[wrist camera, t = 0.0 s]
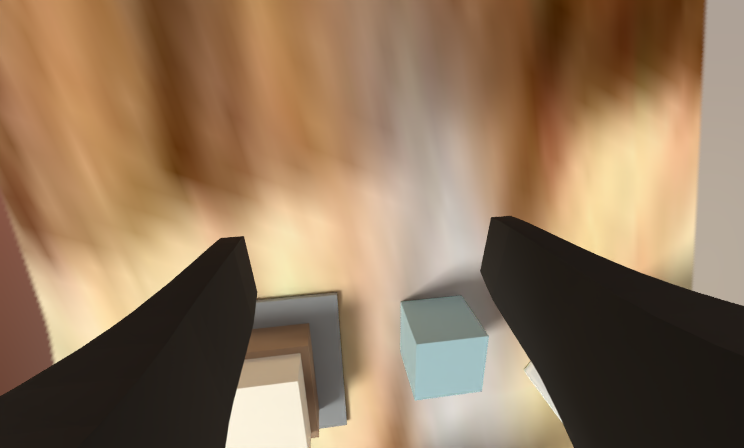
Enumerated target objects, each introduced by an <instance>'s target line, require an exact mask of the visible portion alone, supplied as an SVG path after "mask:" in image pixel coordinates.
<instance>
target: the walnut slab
mask: <svg viewBox="0 0 744 448" xmlns="http://www.w3.org/2000/svg"><path fill="white" fill-rule="evenodd" d="M297 353H300V354H301V361H302V369H303V376H304V384H305V392H306V399H307V407H308V414H309V422H310V429H311V438H315V437H319V403H318V395H317V386H316V377H315V369H314V360H313V352H312V343H311V334H310V326H309V323H305V324H296V325H287V326H277V327H268V328H258V329H252V333H251V337H250V340H249V344H248V348H247V352H246V356H245V359H254V358H263V357H271V356H280V355H288V354H297Z"/></svg>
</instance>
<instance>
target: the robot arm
mask: <svg viewBox="0 0 744 448" xmlns="http://www.w3.org/2000/svg"><path fill="white" fill-rule="evenodd" d="M480 272H481V274H482V277H483V279H484V281H485V284H486V286H487V288H488V290H489V293H490V295H491V297H492V299H493V301H494V302H495V304H496V306H497V307H498V309H499V311H500V312H501V314H502V316H503V317H504V319H505V321H506V322H507V324H508V325H509V327H510V328H511V330H512V332H513V333H514V335H515V336H516V338H517V340H518V341H519V343H520V344H521V346H522V348H523V349H524V351H525V352H526V354H527V356H528V357H529V359H530V360H531V362H532V364H533V365H534V367H535V369H536V371H537V372H538V374H539V376H540V378H541V380H542V382H543V384H544V386H545V388H546V390H547V392H548V394H549V396H550V398H551V400H552V402H553V404H554V406H555V408H556V410H557V412H558V414H559V416H560V418H561V420H562V423H563V425H564V427H565V429H566V431H567V433H568V436H569V438H570V440H571V442H572V444H573V447H574V448H744V306H742V305H738V304H735V303H731V302H728V301H724V300H721V299H718V298H714V297H711V296H708V295H704V294H701V293H698V292H695V291H691V290H688V289H685V288H682V287H679V286H676V285H673V284H670V283H668V282H665V281H662V280H659V279H656V278H654V277H651V276H648V275H645V274H642V273H640V272H637V271H635V270H632V269H630V268H627V267H625V266H622V265H620V264H617V263H615V262H613V261H610V260H608V259H606V258H603V257H601V256H599V255H596V254H594V253H592V252H590V251H587V250H585V249H583V248H581V247H579V246H576V245H574V244H572V243H570V242H568V241H566V240H564V239H562V238H559V237H557V236H555V235H553V234H551V233H549V232H547V231H545V230H543V229H541V228H538V227H536V226H534V225H532V224H530V223H527V222H525V221H523V220H520V219H518V218H515V217H512V216H503V217H491V221H490V226H489V231H488V236H487V240H486V245H485V250H484V255H483V260H482V265H481V270H480ZM256 300H257V289H256V285H255V281H254V277H253V272H252V268H251V264H250V260H249V256H248V252H247V247H246V243H245V239H244V236H241V237H228V238H220V239H219V240H218V241H217V242H215V243H214V244H213V245H212V246H211V247H209V248H208V249H207V250H206V251H205V252H204V253H203V254H201V255H200V256H199V257H198V258H197V259H196V260H195V261H194V262H193V263H191V264H190V265H189V266H188V267H187V268H186V269H184V270H183V271H182V272H181V273H180V274H179V275H178V276H176V277H175V278H174V279H173V280H172V281H171V282H169V283H168V284H167V285H166V286H165V287H163V288H162V289H161V290H160V291H158V292H157V293H156V294H154V295H153V296H152V297H151V298H149V299H148V300H147V301H146V302H144V303H143V304H142V305H141V306H139V307H138V308H137V309H136V310H134V311H133V312H132V313H130V314H129V315H128V316H126V317H125V318H124V319H122V320H121V321H119V322H118V323H117V324H115V325H114V326H113V327H111V328H110V329H108V330H107V331H105V332H104V333H102V334H101V335H99V336H98V337H96V338H95V339H93V340H92V341H90V342H89V343H88V344H86V345H85V346H83V347H81V348H80V349H78V350H77V351H75V352H74V353H72V354H70V355H69V356H67V357H65V358H64V359H62V360H60V361H59V362H57V363H56V364H54V365H52V366H51V367H49V368H47V369H46V370H44V371H42V372H41V373H39V374H37V375H36V376H34V377H32V378H31V379H29V380H28V381H26V382H24V383H22V384H21V385H19V386H17V387H16V388H14V389H12V390H10V391H9V392H7V393H5V394H3V395H2V396H0V448H225V446H226V440H227V434H228V427H229V421H230V416H231V412H232V407H233V402H234V398H235V394H236V391H237V387H238V383H239V379H240V375H241V371H242V368H243V364H244V360H245V356H246V352H247V348H248V344H249V340H250V337H251V333H252V328H253V324H254V317H255V309H256Z"/></svg>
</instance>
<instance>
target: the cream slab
mask: <svg viewBox="0 0 744 448" xmlns="http://www.w3.org/2000/svg"><path fill="white" fill-rule="evenodd" d="M310 447H311V429H310V422H309V414H308V407H307V399H306V392H305V384H304V376H303V369H302V361H301V354H300V353H297V354H288V355H280V356H271V357H263V358H254V359H245V360H244V364H243V368H242V371H241V375H240V379H239V383H238V387H237V391H236V394H235V398H234V402H233V407H232V412H231V416H230V421H229V427H228V434H227V440H226V446H225V448H310Z"/></svg>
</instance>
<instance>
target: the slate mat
mask: <svg viewBox="0 0 744 448" xmlns="http://www.w3.org/2000/svg"><path fill="white" fill-rule="evenodd" d="M305 323H309V326H310V334H311V343H312V352H313V360H314V369H315V377H316V386H317V395H318V403H319V429H320V428H327V427H334V426H341V425H347V419H346V406H345V392H344V379H343V366H342V353H341V340H340V327H339V314H338V301H337V292H335V293H325V294H315V295H304V296H294V297H284V298H273V299H263V300H256V309H255V317H254V324H253V328H252V329H258V328H268V327H277V326H287V325H296V324H305Z"/></svg>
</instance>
